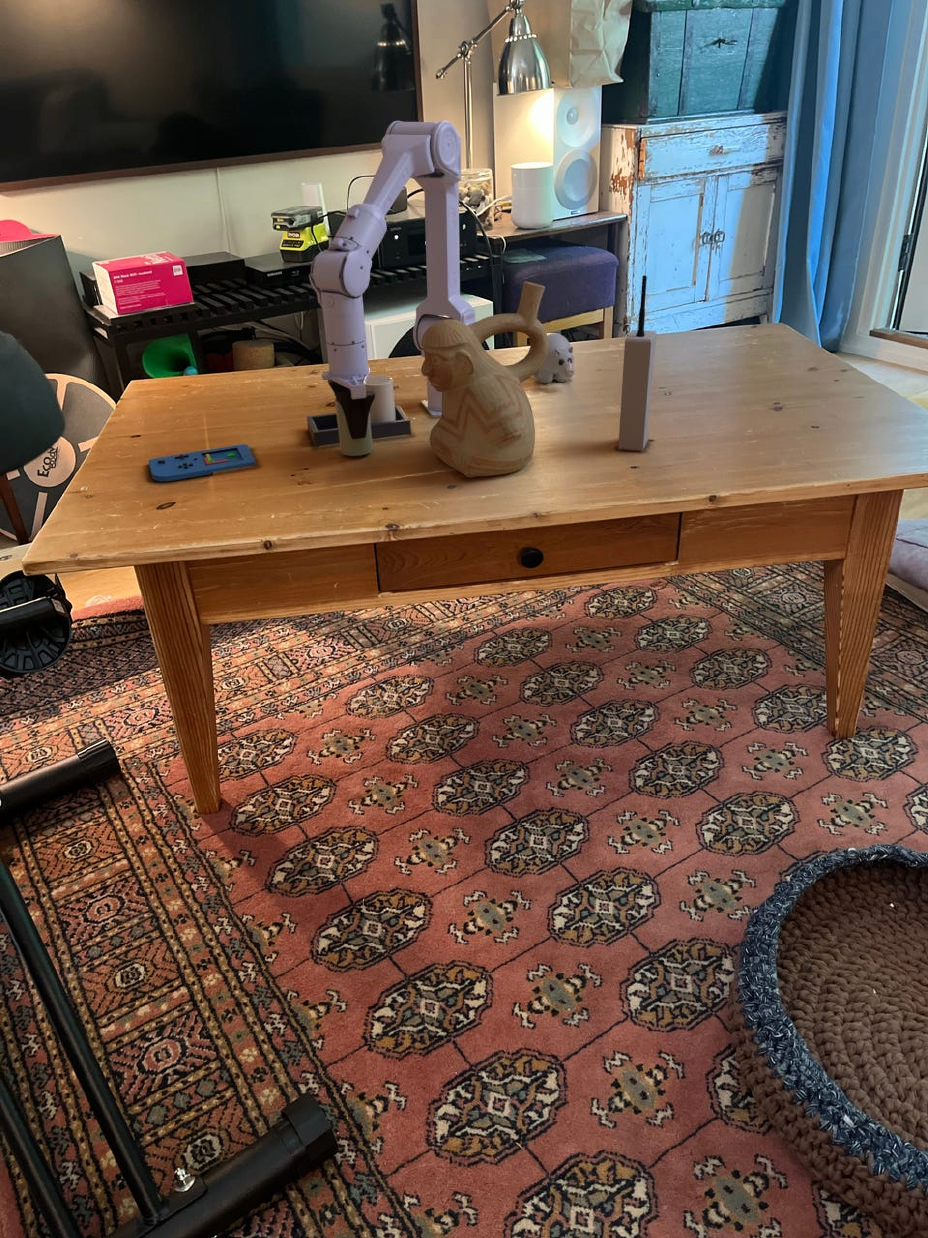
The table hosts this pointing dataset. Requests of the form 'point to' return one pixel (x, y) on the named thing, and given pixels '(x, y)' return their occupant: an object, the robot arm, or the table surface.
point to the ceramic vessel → (484, 390)
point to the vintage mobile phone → (637, 383)
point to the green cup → (346, 442)
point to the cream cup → (381, 399)
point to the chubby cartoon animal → (557, 360)
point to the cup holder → (327, 428)
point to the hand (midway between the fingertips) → (355, 431)
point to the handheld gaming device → (201, 463)
